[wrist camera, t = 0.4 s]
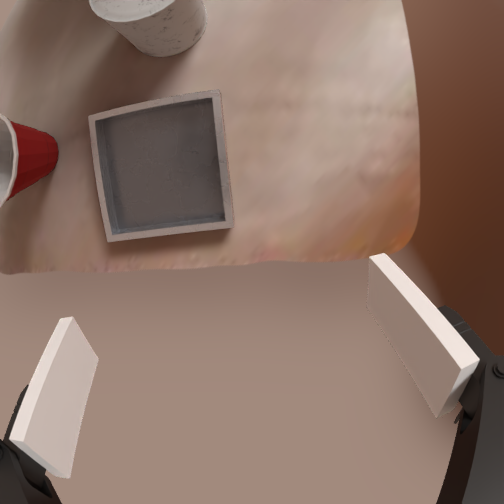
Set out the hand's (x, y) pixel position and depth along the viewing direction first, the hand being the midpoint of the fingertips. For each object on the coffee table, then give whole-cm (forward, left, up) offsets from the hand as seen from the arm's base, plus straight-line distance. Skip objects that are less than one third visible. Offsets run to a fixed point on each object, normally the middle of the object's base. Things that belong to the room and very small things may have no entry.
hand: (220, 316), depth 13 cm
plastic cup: (-11, -25, -25) cm, 37 cm away
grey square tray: (-5, -8, -25) cm, 26 cm away
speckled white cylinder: (-23, -6, -25) cm, 35 cm away
